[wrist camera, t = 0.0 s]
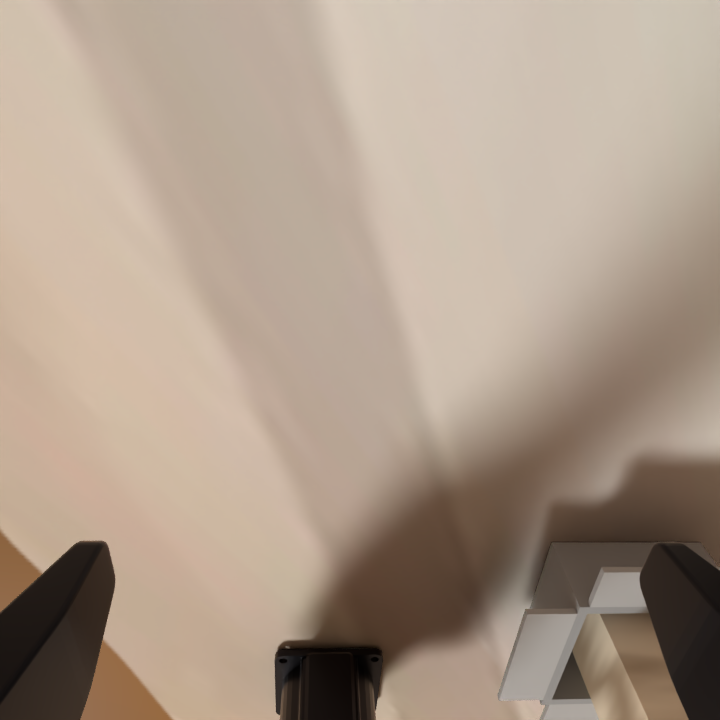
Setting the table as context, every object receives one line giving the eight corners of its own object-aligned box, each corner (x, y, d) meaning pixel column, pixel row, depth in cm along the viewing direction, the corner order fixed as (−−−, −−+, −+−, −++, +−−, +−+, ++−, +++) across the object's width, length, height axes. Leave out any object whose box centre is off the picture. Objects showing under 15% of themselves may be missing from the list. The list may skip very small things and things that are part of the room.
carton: (675, 659, 38) (711, 724, 34) (473, 662, 36) (489, 729, 33) (761, 509, 31) (817, 571, 27) (515, 508, 30) (541, 572, 26)
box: (630, 616, 35) (717, 785, 27) (558, 616, 35) (626, 788, 27) (654, 566, 33) (756, 735, 25) (577, 566, 32) (657, 738, 25)
